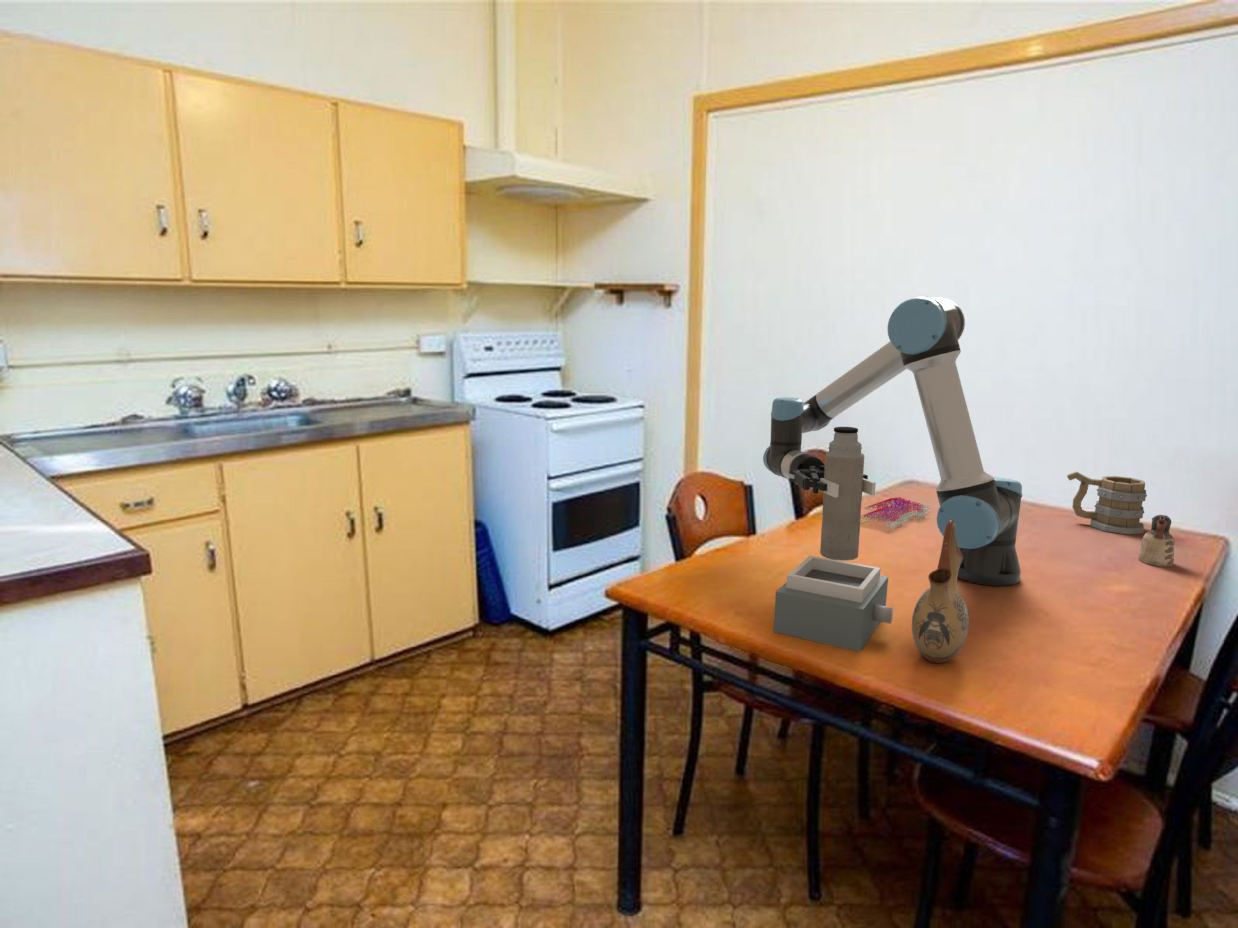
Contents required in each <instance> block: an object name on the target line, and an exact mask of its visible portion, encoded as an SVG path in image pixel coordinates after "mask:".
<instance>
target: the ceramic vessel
mask: <svg viewBox="0 0 1238 928" xmlns="http://www.w3.org/2000/svg"><path fill="white" fill-rule="evenodd" d="M962 559H963V556H962V553H961V551H960V549H959V547H958V543H957V539H956V523H955V521H954V520H949V521H948V523H947V525H946V528H945V532H944V537H943V538H942V545H941V550H940V554H939V559H938V564H937V568H936V570H933V571H931V572H930V573H929V574H928V582H929V586H930V587H929V588H928V589H926V590H925V591H924V592H923V593H922V594H921V596H920V597H919V598H918V600H917V601H916V603H915V606H914V609H913V612H912V617H911V634H912V639H913V641H914V645H915V646H916V648H917V650H918V652H919V653H920V654H921V655H922V657H923V658H925V660H927V661H928V662H932V663H936V664H941V663H942V664H943V663H947V662H948V661H950V660H952V659H953V658H955V657H956V656H957V655H958V654H959V653H960V651H961V650H962V648H963V647H964V644H965V642H966V640H967V637H968V633H969V626H970V617H969V610H968V607H967V604H966V602H965V599H964V597H963V596H962V594H961V593H960V591H959V585H958V578H957V576H958V571H959V567H960V565H961V562H962Z"/></svg>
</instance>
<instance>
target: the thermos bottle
mask: <svg viewBox="0 0 1238 928" xmlns="http://www.w3.org/2000/svg"><path fill="white" fill-rule="evenodd" d="M833 432H834V434H833V440H831V441H830V442H829V447H828V451H826V452H825V455H824V457H825V458H824V465H825V471H824V479H826V480H828V481H831V482H834V483H836V484H839V492H838V497H836V498H835V497H832V496H830V495H828V494H826V493H823V492H822V493H823V494H822V495H823V496H822V519H821V532H820V547H819V549H820V550H819V551H820V552H819V554H820V556H822V558H827V559H832V560H838V561H844V562H846V561H854V560H857V559H858V558H859V547H860V536H861V535H860V530H861V519H862V518H861V516H862V515H861V513H862V502H863V501H862V499H863V492H862V487H863V474H864V470H865V469H864V467H865V454H864V453H862V449H863V447H862V443H861V442H859V439H858V438H859V434H858V433H859V429H858V428H857V427H853V426H836V427H833ZM860 518H861V519H860Z"/></svg>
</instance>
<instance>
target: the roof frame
mask: <svg viewBox="0 0 1238 928" xmlns="http://www.w3.org/2000/svg"><path fill="white" fill-rule="evenodd" d="M889 505H890V506H889ZM863 508H864V510H867V511H871V512H867V513H864V514H862V515H861V518H860V520H861V522H864V520H865V522H868V521H867V520H869V521H874V522H878V523H883V524H886V525H885V526H886V527H888V532H890V530H891V531H892V529H894V528H895V529H896V528H899V526H900V527H901V526H903V523H905V522H908V521H909V520H910V519H911V520H914V519H915V520H916V521H921V520H923V519H924V518H925V516H926V515H928V514H930V513H931V511H930V509H931V507H930V505H925V504H923V503H919V502H916V501H911V500H910V499H906V498H902V497H900V496H899V497H890V498H888V499H885V500H882V501H879V502H875V503H874V504H871V505H868V506H865V507H863ZM912 517H913V518H912Z"/></svg>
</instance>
